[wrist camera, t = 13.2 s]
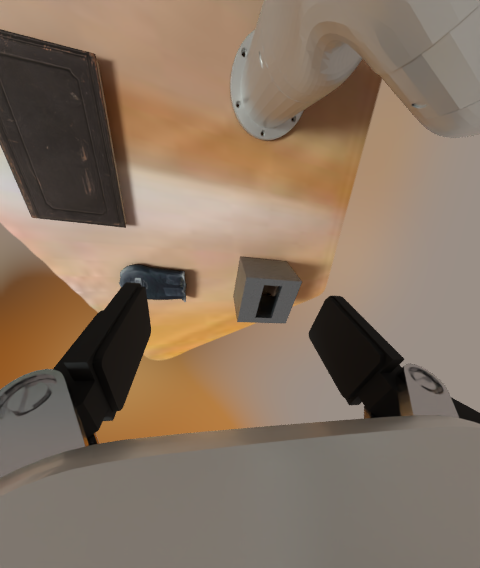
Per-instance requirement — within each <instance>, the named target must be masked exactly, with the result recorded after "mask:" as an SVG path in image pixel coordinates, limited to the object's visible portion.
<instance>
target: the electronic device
mask: <svg viewBox="0 0 480 568" xmlns="http://www.w3.org/2000/svg"><path fill="white" fill-rule="evenodd" d="M184 274H185V271H177V270H168V269H159V268H150V267H147V266H144V265H129V266H127V267H125V268H124V269H123V270H122V271H121V272H120V277H121V278H120V282H119V284H120V286H121V287H122V286H123V285H124V284H125V283H126V282H129V283H140V284H141V286H142V287H145V288H146V294H147V299H153V300H169V299H182V300H184V302H186V295H185V291H186V282H185V277H184Z"/></svg>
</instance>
